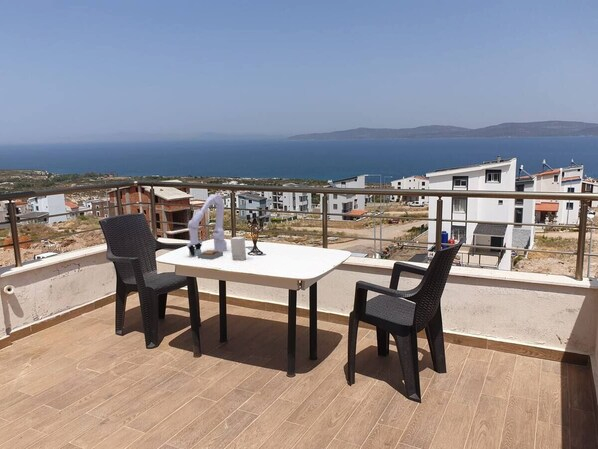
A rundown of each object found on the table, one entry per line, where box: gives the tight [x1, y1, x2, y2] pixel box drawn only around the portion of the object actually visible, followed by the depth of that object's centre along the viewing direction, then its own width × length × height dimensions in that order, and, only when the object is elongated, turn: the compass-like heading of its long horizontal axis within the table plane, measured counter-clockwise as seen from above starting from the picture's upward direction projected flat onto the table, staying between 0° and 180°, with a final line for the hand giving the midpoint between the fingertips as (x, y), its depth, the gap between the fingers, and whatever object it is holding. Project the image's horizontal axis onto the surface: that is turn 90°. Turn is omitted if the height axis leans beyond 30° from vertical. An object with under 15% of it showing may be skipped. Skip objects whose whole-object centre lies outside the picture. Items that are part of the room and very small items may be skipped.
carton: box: [188, 248, 202, 257], centre depth 319 cm, size 5×7×5 cm
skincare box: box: [230, 236, 247, 261], centre depth 305 cm, size 8×7×16 cm
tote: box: [197, 251, 224, 261], centre depth 313 cm, size 13×13×4 cm
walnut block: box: [201, 249, 218, 256], centre depth 312 cm, size 8×8×4 cm
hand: (195, 254), depth 319 cm, fingers closed on carton, 5 cm apart
